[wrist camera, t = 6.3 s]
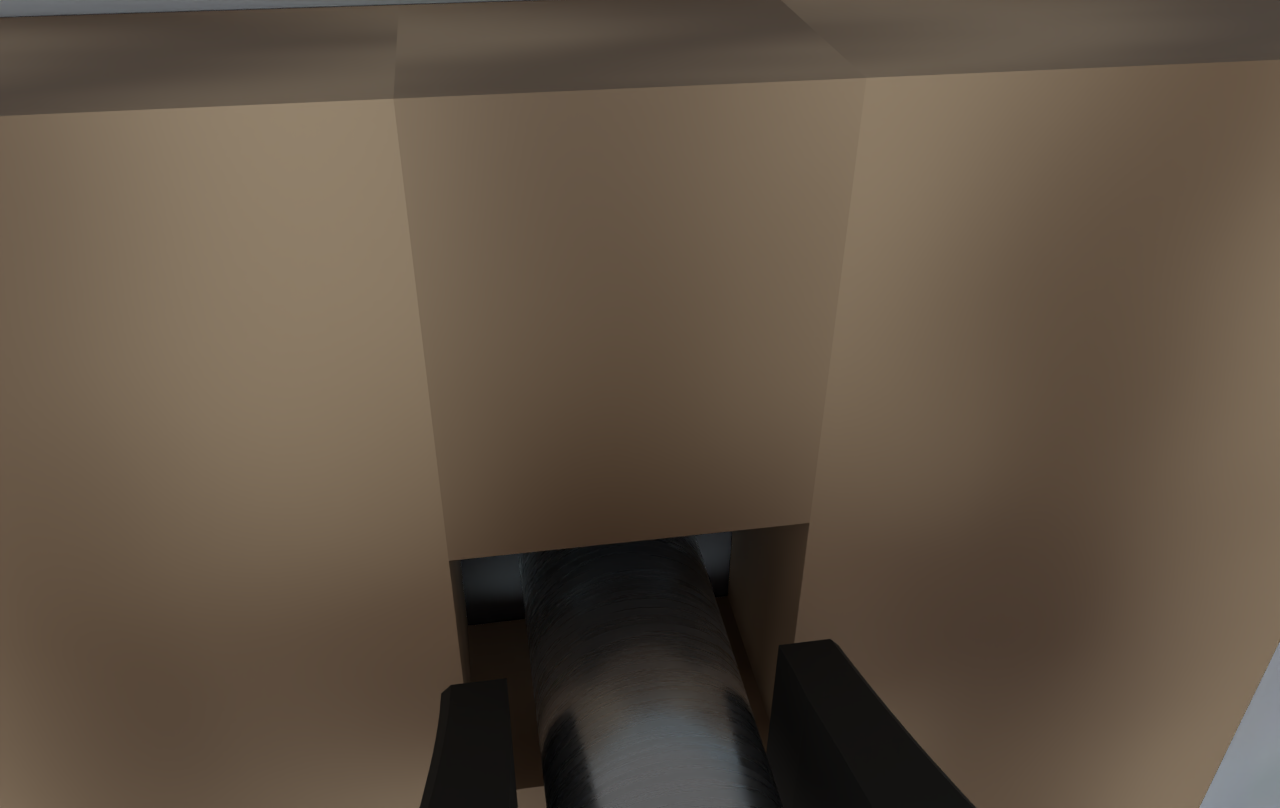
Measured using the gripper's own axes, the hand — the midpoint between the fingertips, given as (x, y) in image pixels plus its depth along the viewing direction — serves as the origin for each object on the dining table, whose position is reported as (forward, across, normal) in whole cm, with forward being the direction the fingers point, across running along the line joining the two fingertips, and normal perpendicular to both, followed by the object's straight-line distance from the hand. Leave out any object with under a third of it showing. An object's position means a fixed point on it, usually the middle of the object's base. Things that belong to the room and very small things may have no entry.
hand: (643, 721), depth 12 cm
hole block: (+4, 0, 0) cm, 4 cm away
